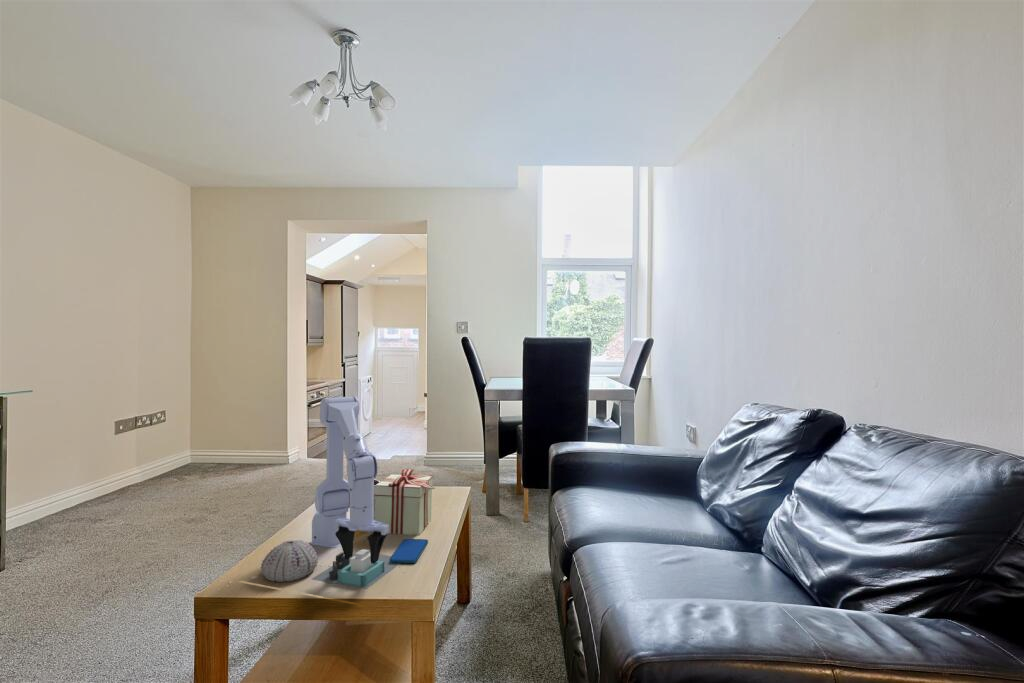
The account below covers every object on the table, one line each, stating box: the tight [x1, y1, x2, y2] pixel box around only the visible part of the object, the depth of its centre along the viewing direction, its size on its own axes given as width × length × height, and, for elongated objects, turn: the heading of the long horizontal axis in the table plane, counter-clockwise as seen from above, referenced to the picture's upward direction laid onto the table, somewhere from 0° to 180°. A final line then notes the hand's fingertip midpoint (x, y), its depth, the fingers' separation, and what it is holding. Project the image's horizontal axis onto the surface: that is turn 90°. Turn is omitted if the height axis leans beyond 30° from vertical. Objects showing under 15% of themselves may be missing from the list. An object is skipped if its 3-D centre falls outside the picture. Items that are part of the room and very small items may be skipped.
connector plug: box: [351, 548, 374, 574], centre depth 124 cm, size 4×4×6 cm
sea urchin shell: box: [260, 539, 319, 583], centre depth 126 cm, size 13×14×8 cm
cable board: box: [311, 550, 401, 590], centre depth 128 cm, size 16×18×4 cm
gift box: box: [374, 469, 436, 536], centre depth 160 cm, size 17×18×17 cm
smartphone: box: [390, 538, 429, 564], centre depth 138 cm, size 7×1×15 cm
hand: (361, 559), depth 124 cm, fingers open, 7 cm apart
